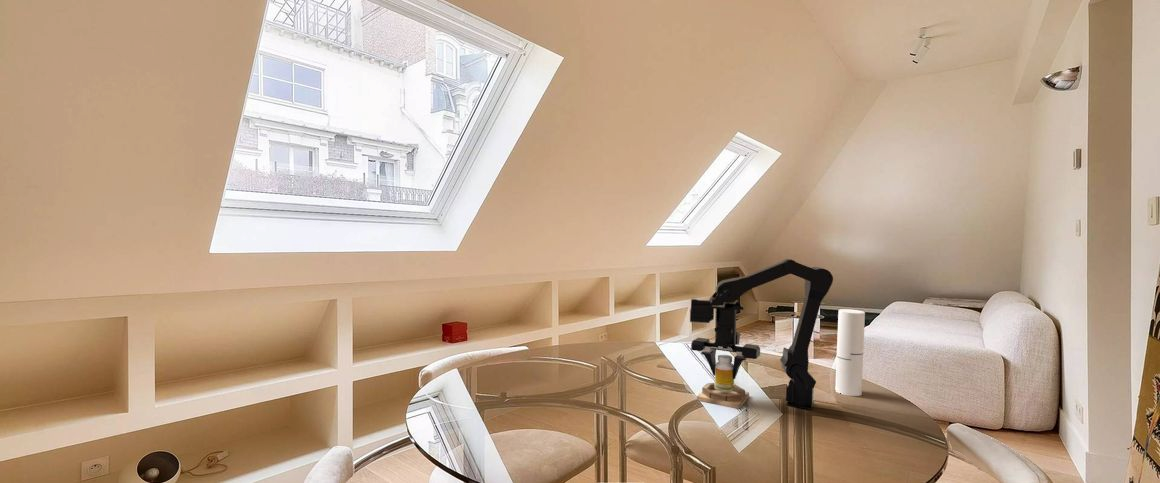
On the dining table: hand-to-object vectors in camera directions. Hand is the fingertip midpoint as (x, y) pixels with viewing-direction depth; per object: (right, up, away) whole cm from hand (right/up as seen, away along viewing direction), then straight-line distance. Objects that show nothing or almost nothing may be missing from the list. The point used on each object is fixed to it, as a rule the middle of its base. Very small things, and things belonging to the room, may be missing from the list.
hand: (724, 377), depth 150 cm
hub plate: (0, -6, 0) cm, 6 cm away
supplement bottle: (0, -4, 0) cm, 4 cm away
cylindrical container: (+40, -7, +8) cm, 42 cm away
